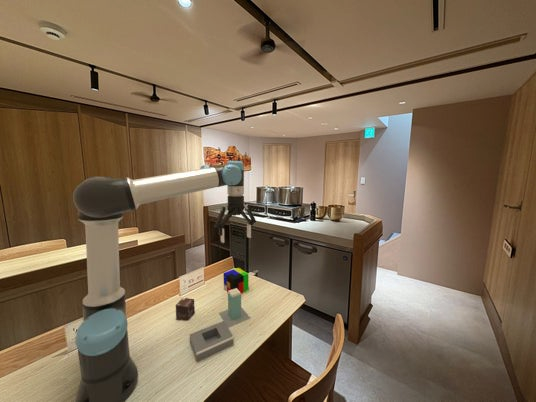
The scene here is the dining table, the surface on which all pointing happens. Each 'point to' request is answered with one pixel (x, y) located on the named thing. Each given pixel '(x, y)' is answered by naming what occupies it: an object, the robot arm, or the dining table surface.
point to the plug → (234, 303)
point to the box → (185, 309)
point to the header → (210, 340)
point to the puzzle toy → (236, 280)
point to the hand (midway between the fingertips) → (236, 239)
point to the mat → (230, 322)
